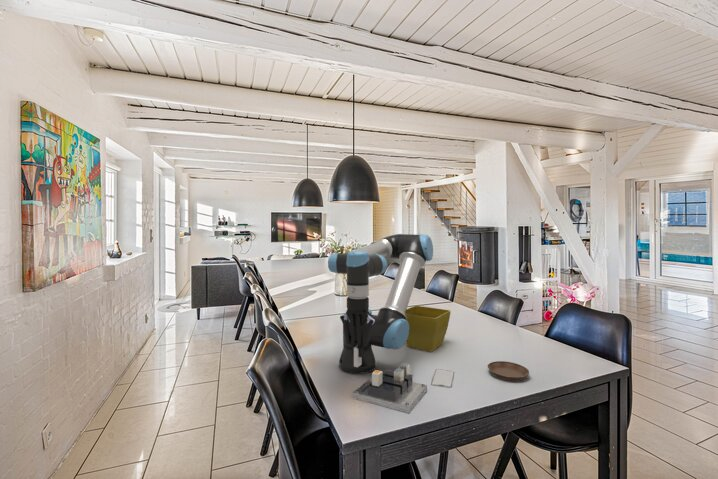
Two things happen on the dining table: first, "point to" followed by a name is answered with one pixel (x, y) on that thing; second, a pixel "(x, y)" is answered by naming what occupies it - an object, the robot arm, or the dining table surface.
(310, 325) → the dining table surface
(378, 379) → the block with orange pad
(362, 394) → the panel
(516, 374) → the saucer
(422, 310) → the flower pot
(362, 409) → the dining table surface
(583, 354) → the dining table surface
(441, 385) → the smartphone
